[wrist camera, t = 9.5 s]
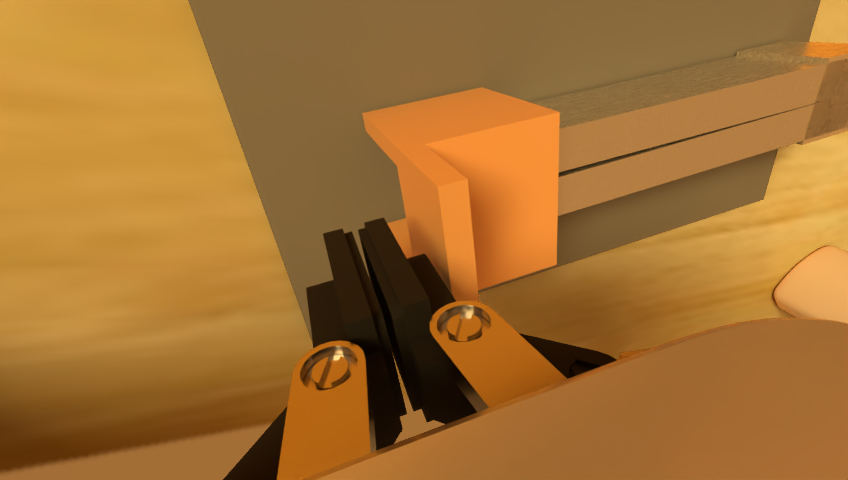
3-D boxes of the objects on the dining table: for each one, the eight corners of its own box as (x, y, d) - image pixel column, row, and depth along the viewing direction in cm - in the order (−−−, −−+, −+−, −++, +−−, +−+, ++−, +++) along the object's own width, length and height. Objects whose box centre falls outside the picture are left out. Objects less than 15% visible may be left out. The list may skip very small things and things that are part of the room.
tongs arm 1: (487, 192, 20) (534, 227, 16) (484, 154, 19) (532, 184, 15) (765, 113, 23) (851, 129, 20) (774, 78, 22) (865, 89, 19)
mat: (313, 341, 21) (314, 346, 21) (185, -12, 13) (183, -13, 13) (757, 197, 27) (763, 199, 26) (840, -105, 19) (851, -107, 19)
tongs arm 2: (484, 150, 19) (533, 179, 15) (481, 108, 18) (532, 129, 14) (774, 78, 22) (865, 89, 19) (784, 40, 21) (882, 45, 18)
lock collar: (388, 237, 19) (461, 368, 12) (362, 113, 16) (437, 186, 9) (490, 208, 20) (613, 312, 13) (481, 87, 17) (633, 135, 10)
